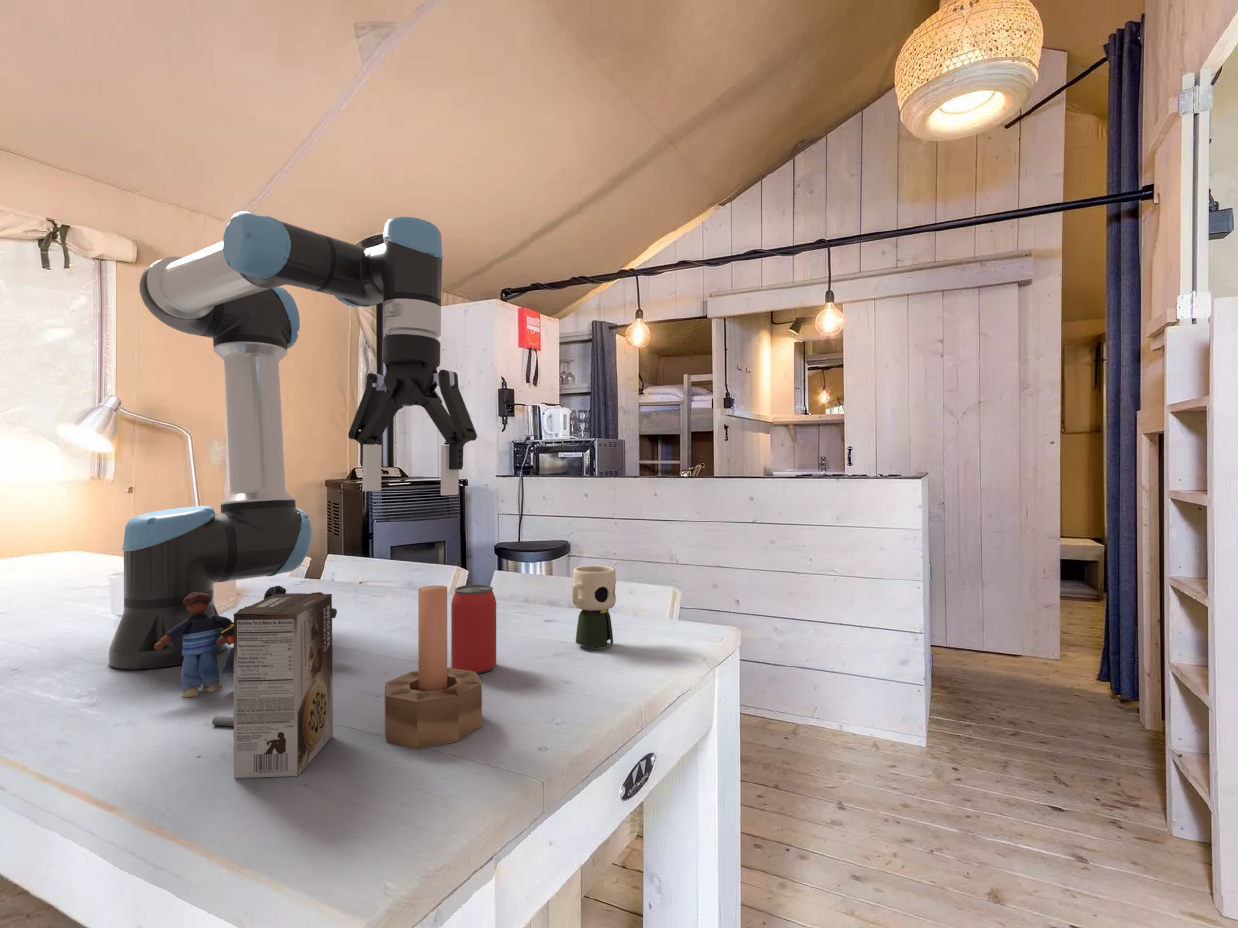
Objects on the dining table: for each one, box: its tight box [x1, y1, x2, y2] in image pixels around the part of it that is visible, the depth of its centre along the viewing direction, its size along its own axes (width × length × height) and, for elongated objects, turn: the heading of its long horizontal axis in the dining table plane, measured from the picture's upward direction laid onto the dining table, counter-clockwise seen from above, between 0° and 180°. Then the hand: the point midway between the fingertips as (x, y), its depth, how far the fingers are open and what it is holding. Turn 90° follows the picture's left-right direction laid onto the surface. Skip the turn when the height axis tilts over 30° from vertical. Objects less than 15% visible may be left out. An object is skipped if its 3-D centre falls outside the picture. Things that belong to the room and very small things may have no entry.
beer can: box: [450, 584, 497, 675], centre depth 92 cm, size 7×7×12 cm
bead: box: [384, 666, 483, 749], centre depth 71 cm, size 10×10×5 cm
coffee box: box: [233, 592, 334, 779], centre depth 64 cm, size 9×6×16 cm
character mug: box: [571, 565, 617, 649], centre depth 103 cm, size 11×7×13 cm, turn 143°
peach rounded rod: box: [417, 585, 448, 692], centre depth 71 cm, size 3×3×16 cm
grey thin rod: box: [211, 715, 234, 727], centre depth 71 cm, size 10×1×1 cm, turn 83°
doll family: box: [154, 585, 338, 698], centre depth 88 cm, size 23×9×13 cm, turn 159°
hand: (409, 493), depth 84 cm, fingers open, 13 cm apart
